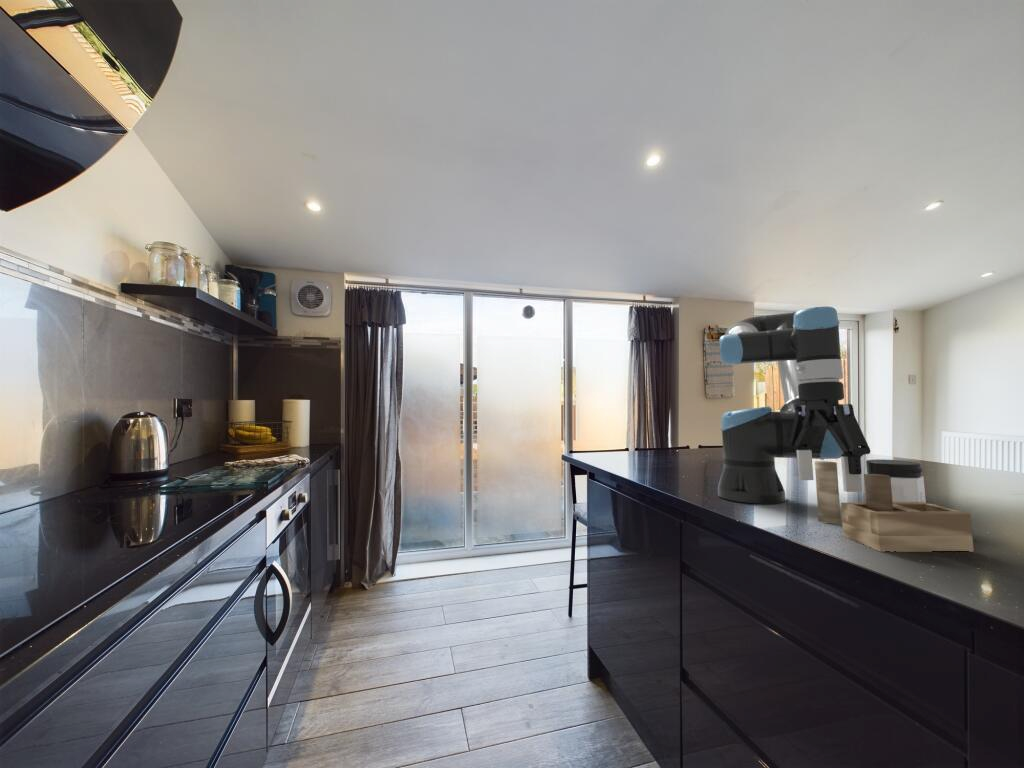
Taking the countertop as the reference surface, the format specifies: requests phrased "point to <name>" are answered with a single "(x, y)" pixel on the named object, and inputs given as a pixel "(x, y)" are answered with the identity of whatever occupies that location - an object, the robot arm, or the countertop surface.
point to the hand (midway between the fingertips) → (827, 485)
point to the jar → (901, 478)
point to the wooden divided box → (908, 527)
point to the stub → (878, 492)
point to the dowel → (827, 492)
